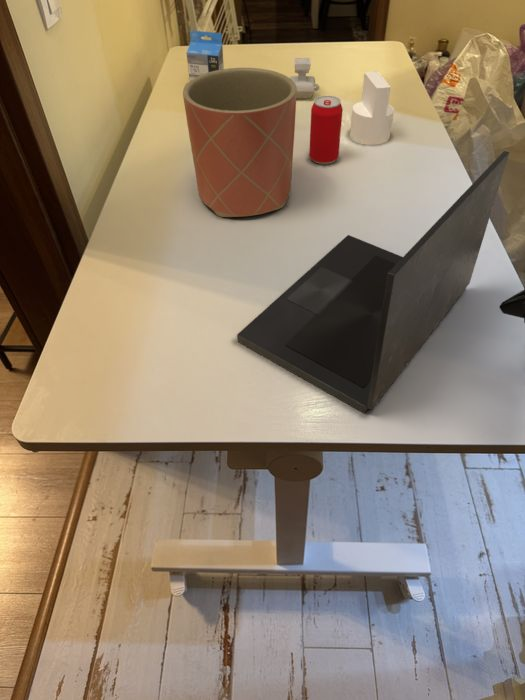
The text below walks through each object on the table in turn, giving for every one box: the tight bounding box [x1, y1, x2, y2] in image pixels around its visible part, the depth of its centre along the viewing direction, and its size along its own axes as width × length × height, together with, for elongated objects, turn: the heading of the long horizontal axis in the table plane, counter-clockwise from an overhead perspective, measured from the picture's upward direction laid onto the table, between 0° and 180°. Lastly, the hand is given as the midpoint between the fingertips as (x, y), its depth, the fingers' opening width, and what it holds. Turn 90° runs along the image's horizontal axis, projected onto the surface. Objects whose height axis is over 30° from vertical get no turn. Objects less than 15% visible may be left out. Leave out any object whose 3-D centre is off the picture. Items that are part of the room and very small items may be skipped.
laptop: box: [236, 234, 404, 414], centre depth 77 cm, size 21×30×2 cm
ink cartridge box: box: [186, 30, 225, 82], centre depth 134 cm, size 9×4×12 cm, turn 73°
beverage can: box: [308, 95, 344, 165], centre depth 106 cm, size 6×6×12 cm
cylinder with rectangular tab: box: [349, 71, 395, 146], centre depth 113 cm, size 9×9×12 cm
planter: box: [182, 67, 297, 218], centre depth 94 cm, size 19×19×20 cm
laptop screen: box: [367, 150, 510, 410], centre depth 65 cm, size 21×30×1 cm
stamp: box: [289, 57, 320, 99], centre depth 130 cm, size 9×7×8 cm
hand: (501, 308), depth 61 cm, fingers closed
